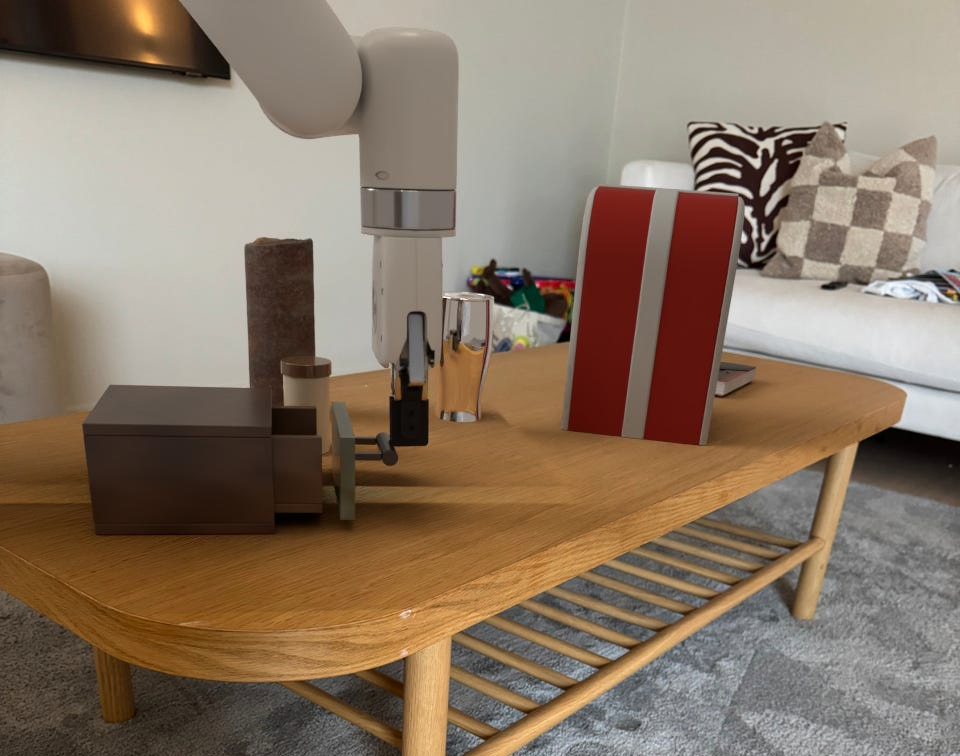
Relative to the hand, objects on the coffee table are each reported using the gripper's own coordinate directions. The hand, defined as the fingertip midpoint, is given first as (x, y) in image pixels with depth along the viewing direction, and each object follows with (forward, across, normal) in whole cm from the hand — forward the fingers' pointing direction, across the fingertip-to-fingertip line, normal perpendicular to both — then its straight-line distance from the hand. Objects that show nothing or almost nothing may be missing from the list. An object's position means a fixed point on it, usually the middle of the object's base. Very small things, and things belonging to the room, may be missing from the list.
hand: (409, 443), depth 84 cm
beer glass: (+6, -28, +9) cm, 30 cm away
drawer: (+4, 0, -10) cm, 11 cm away
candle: (+6, -28, -11) cm, 31 cm away
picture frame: (+8, -62, +49) cm, 80 cm away
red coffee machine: (+7, -33, +33) cm, 47 cm away
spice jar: (+6, -13, -9) cm, 17 cm away
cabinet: (+5, 0, -19) cm, 19 cm away
